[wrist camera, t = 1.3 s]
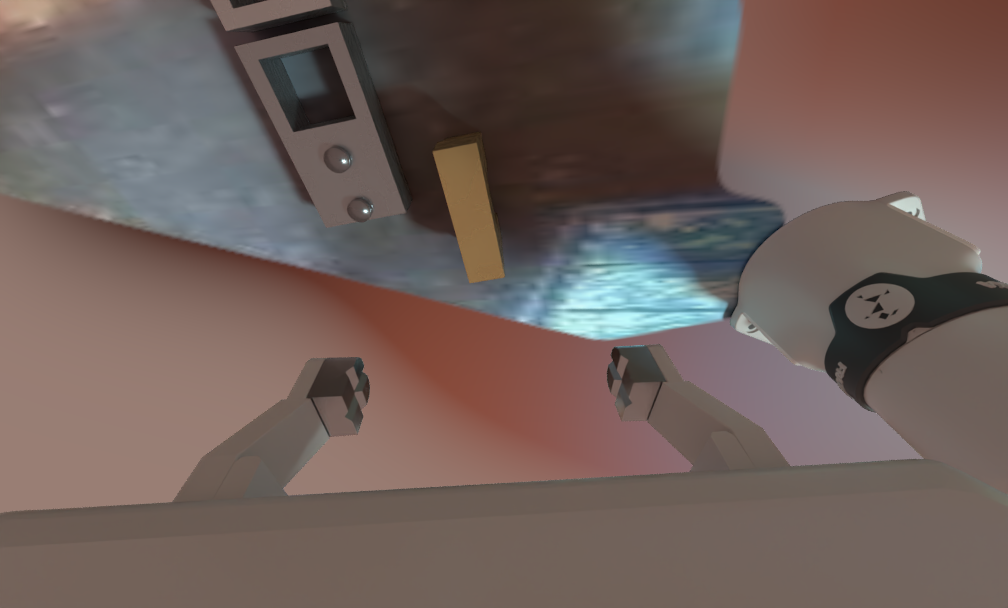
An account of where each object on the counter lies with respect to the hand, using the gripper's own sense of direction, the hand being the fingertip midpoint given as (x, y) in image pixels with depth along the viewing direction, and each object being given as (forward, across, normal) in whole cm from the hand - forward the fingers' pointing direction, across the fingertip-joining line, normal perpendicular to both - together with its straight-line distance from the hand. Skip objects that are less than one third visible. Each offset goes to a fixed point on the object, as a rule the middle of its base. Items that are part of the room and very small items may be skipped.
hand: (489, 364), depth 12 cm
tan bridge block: (+23, +1, +2) cm, 23 cm away
